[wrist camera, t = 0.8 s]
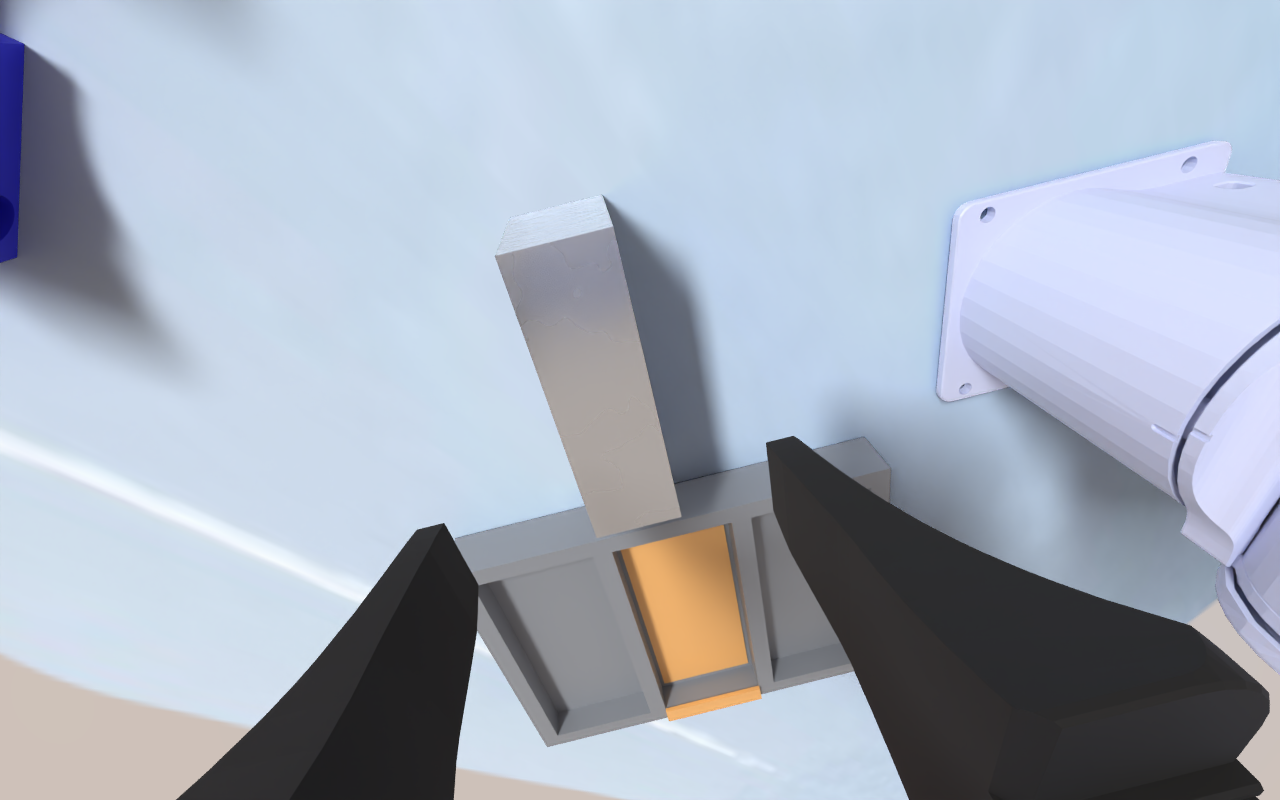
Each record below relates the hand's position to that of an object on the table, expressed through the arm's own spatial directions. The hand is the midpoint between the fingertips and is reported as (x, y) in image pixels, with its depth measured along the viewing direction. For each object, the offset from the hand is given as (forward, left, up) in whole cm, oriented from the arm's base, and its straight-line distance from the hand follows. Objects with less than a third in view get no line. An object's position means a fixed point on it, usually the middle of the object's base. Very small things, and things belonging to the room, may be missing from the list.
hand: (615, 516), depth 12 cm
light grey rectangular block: (0, 0, -9) cm, 9 cm away
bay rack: (-1, +14, -9) cm, 17 cm away
